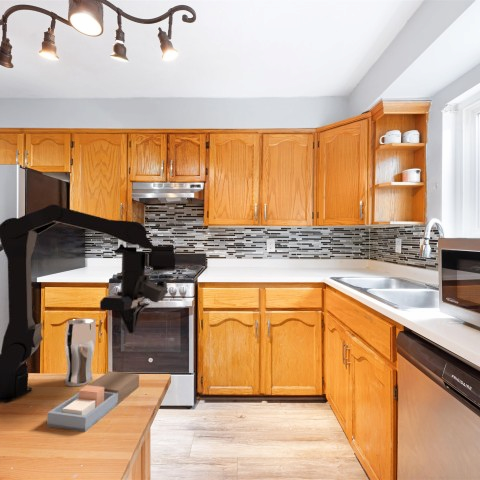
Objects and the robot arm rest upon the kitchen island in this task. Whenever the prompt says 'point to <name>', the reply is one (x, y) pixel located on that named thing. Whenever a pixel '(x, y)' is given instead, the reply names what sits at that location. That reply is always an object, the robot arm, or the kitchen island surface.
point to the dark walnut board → (118, 383)
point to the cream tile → (80, 407)
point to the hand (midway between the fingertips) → (131, 332)
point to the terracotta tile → (92, 394)
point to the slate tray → (80, 421)
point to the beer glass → (79, 350)
